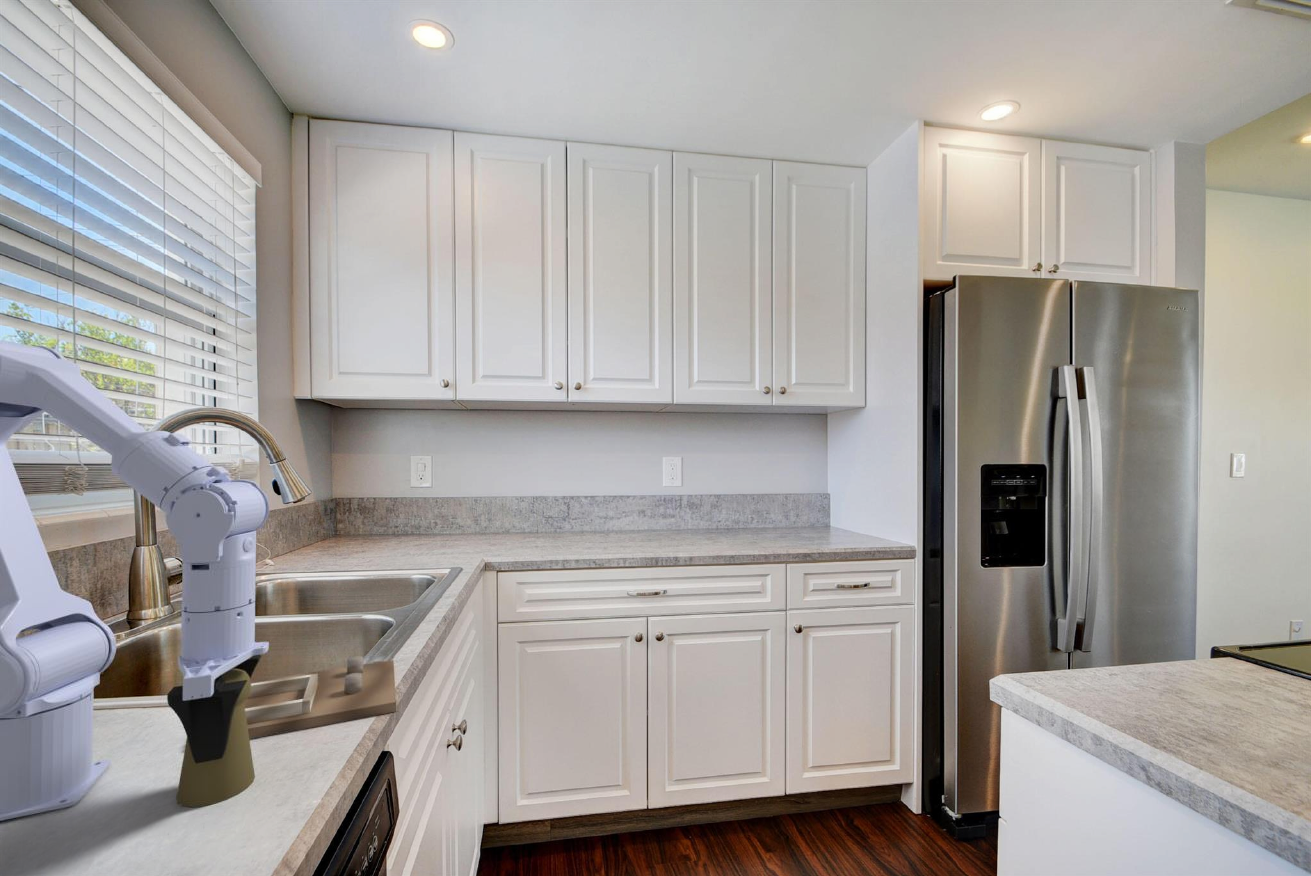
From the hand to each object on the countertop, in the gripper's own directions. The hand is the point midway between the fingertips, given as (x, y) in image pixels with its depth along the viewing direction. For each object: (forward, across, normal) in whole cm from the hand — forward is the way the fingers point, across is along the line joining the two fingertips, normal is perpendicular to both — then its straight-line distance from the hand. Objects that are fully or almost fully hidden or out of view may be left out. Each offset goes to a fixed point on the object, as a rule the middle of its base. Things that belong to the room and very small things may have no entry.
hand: (217, 745), depth 55 cm
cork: (+4, 0, 0) cm, 4 cm away
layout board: (+4, +18, -6) cm, 19 cm away
